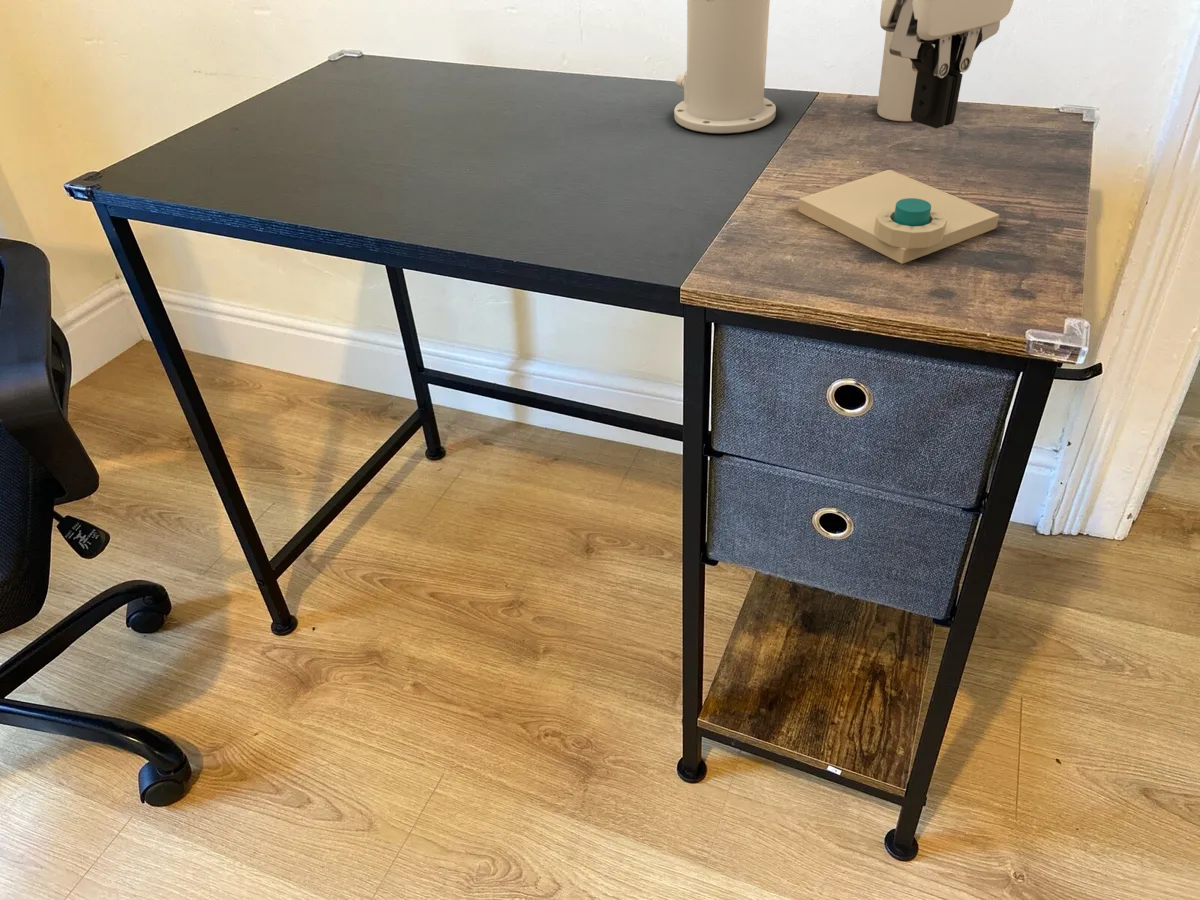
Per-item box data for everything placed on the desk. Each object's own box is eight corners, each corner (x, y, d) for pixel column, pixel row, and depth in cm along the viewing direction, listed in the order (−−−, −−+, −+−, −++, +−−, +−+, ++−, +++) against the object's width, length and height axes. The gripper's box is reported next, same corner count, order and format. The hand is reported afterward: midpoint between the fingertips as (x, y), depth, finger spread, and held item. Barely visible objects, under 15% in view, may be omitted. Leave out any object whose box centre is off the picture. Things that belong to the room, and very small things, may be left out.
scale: (794, 212, 87) (797, 183, 85) (887, 182, 92) (891, 154, 90) (906, 269, 77) (912, 237, 75) (1004, 232, 81) (1012, 201, 80)
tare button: (886, 220, 79) (888, 203, 78) (910, 211, 80) (913, 195, 79) (910, 231, 77) (913, 214, 76) (935, 222, 78) (938, 206, 77)
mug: (923, 125, 104) (942, 15, 96) (867, 118, 107) (881, 11, 99) (944, 100, 110) (964, -5, 103) (891, 94, 113) (906, -9, 106)
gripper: (1005, -157, 67) (959, 94, 78) (857, -135, 61) (831, 131, 72) (1094, -154, 61) (1031, 114, 73) (940, -130, 56) (898, 155, 67)
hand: (931, 122), depth 72 cm, fingers closed
